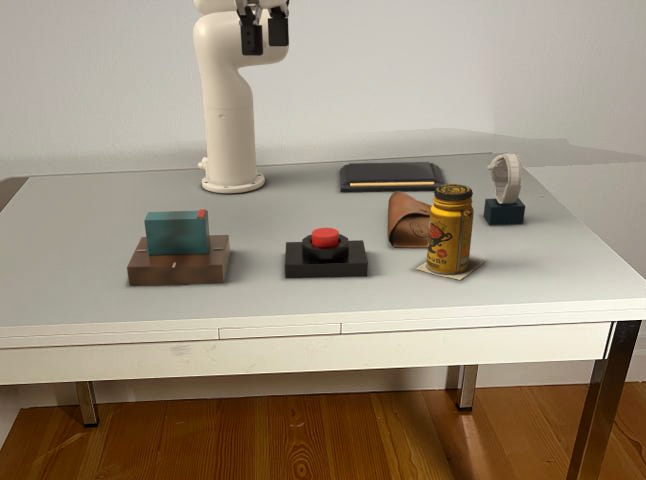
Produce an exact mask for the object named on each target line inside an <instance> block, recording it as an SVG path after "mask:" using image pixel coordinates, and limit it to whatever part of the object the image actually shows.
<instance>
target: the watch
mask: <svg viewBox="0 0 646 480" xmlns="http://www.w3.org/2000/svg"><path fill="white" fill-rule="evenodd" d="M487 170H488V171H490V174H491V179H492V180H491V181H492V182H493V183H494V194H495V198H485V199H484V207H483V208H484V209H483V218H484V220H485V221H486V222H487V224H488V225H489V226H510V225H524V220H525V213H526V205H525V204H524V202H523V201H522V200H521V199H520V198H519V197H520V193H521V190H522V185H521V184H522V173H523V172H522V160H521V157H520V154H516V153H515V154H514V153H503V154H500V155H497V156H496V157H494V158H493V159H492V160H491V161H490V164H488V165H487Z"/></svg>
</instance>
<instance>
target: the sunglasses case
mask: <svg viewBox="0 0 646 480" xmlns="http://www.w3.org/2000/svg"><path fill="white" fill-rule="evenodd" d="M387 206H388V207H387V239H388V243H390V245H391V246H392V247H393V248H398V249H399V248H400V249H428V234H429V222H430V221H429V220H430V210H431V207H432V206H433V204H429V203H427V202H423V201H420V200H417V199H416V198H414V197H413V196H411V195H409V194H407V193H405V192H404V191H393V193H392V194H391V195H390V197H389V199H388V205H387Z"/></svg>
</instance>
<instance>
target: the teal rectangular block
mask: <svg viewBox="0 0 646 480" xmlns="http://www.w3.org/2000/svg"><path fill="white" fill-rule="evenodd" d="M143 222H144V230H145V237H146V238H147V246H148V254H149V255H169V254H208V251H209V248H210V235H211V234H210V222H209V212H208V210H207V209H206V208H200V209H199V210H178V211H177V210H175V211H174V210H173V211H170V210H169V211H148V212H147V214H146V216H145V218H144V219H143Z"/></svg>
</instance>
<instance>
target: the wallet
mask: <svg viewBox="0 0 646 480" xmlns="http://www.w3.org/2000/svg"><path fill="white" fill-rule="evenodd" d="M339 171H340V172H339V175H340V193H368V192H369V193H370V192H371V193H372V192H373V193H375V192H377V193H378V192H395V191H401V192H431V191H432V192H434V191H435V189H436V188H437V187H438V186H441V185H445V180H444V177H443V174H442V172H441V169H440V166H438V165H437V164H435V163H433V162H429V161H409V162H408V161H405V162H404V161H402V162H401V161H400V162H355V163H354V162H353V163H352V162H350V163H348V164H344V165H343V166H342V167H340V170H339Z"/></svg>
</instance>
